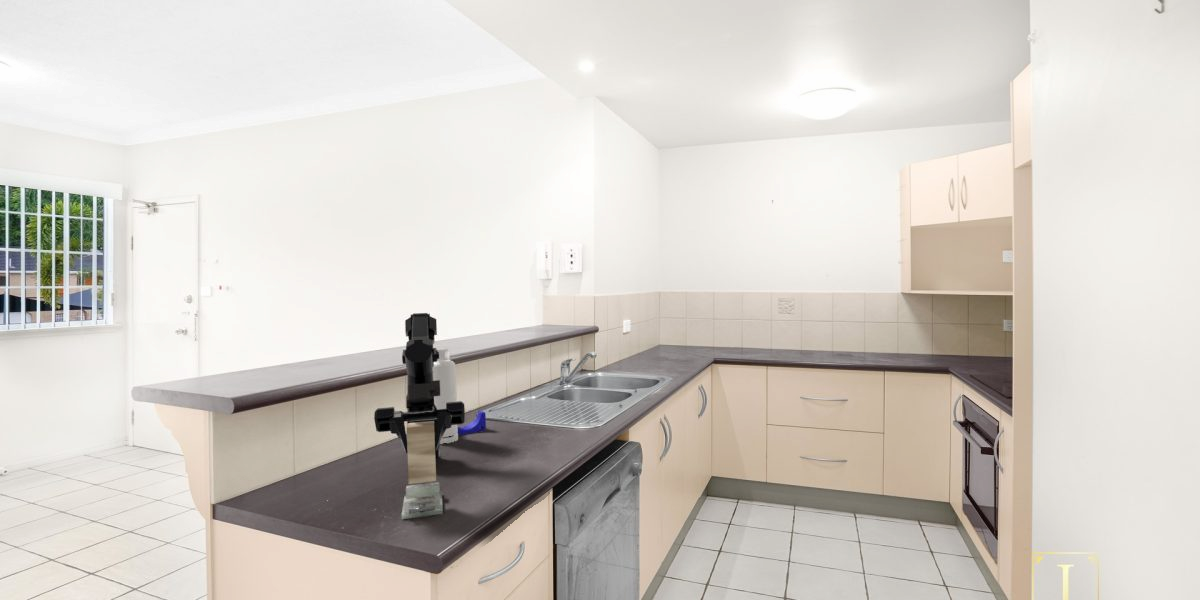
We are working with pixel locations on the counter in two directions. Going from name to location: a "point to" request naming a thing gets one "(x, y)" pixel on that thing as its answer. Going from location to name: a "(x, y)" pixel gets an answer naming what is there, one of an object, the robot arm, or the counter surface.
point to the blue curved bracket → (474, 425)
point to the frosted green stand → (422, 500)
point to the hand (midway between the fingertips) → (421, 450)
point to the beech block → (421, 452)
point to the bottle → (446, 388)
